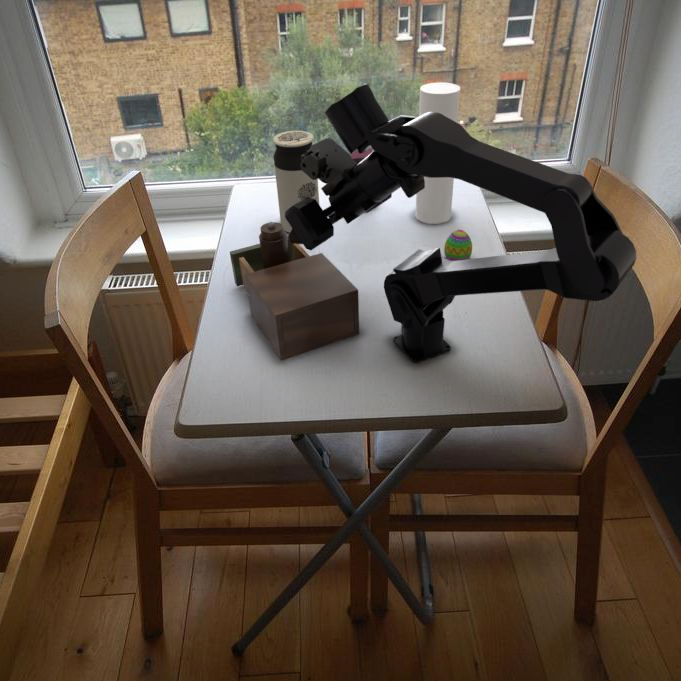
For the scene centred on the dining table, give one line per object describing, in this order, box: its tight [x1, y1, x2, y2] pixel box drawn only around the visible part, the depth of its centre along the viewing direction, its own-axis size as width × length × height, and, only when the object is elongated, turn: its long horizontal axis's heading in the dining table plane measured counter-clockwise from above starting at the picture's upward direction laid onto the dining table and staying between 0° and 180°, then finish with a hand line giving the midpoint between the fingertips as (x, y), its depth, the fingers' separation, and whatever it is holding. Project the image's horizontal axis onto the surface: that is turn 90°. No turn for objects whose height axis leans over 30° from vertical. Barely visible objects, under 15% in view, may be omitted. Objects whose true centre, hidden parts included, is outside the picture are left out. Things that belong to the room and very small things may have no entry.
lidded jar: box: [258, 221, 289, 269], centre depth 101 cm, size 4×4×12 cm
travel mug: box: [272, 130, 320, 233], centre depth 120 cm, size 8×8×18 cm
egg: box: [443, 228, 473, 261], centre depth 110 cm, size 5×5×6 cm
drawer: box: [229, 235, 311, 294], centre depth 104 cm, size 13×12×6 cm
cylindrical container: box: [415, 81, 461, 225], centre depth 119 cm, size 7×7×25 cm
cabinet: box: [245, 252, 360, 361], centre depth 96 cm, size 13×13×8 cm
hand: (310, 227), depth 94 cm, fingers open, 9 cm apart
